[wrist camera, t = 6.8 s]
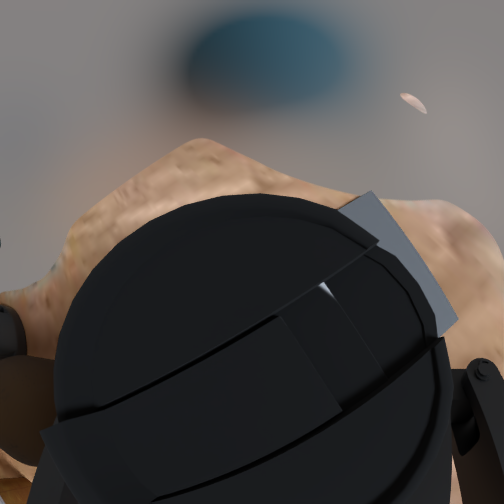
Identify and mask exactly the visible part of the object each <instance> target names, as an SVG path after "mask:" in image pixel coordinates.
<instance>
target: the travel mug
mask: <svg viewBox="0 0 504 504" xmlns="http://www.w3.org/2000/svg"><path fill="white" fill-rule="evenodd" d="M379 241H380V240H379V239H377V238H376V237H375V236H373V235H372V234H370V233H369V232H368V231H366V230H365V229H363V228H362V227H361V226H359V225H358V224H356V223H355V222H354V221H352V220H351V219H349V218H348V217H346V216H345V215H343V214H342V213H341V212H339V211H338V210H336V209H333V208H330V207H327V206H324V205H320V204H317V203H314V202H311V201H308V200H304V199H301V198H295V197H287V196H279V195H270V194H261V193H259V194H242V195H227V196H220V197H215V198H211V199H207V200H203V201H199V202H195V203H191V204H187V205H184V206H182V207H179V208H177V209H175V210H173V211H170V212H168V213H166V214H164V215H162V216H159V217H157V218H155V219H153V220H151V221H149V222H148V223H146V224H145V225H143V226H142V227H140V228H139V229H137V230H136V231H135V232H133V233H132V234H130V235H129V236H127V237H126V238H125V239H123V240H122V241H120V242H119V243H118V244H117V245H116V246H115V247H114V248H113V249H112V250H111V251H110V252H109V253H108V254H107V255H106V256H105V257H104V258H103V259H102V260H101V261H100V262H99V263H98V265H97V266H96V267H95V268H94V269H93V270H92V271H91V273H90V274H89V276H88V277H87V279H86V280H85V282H84V284H83V285H82V287H81V288H80V290H79V291H78V293H77V294H76V296H75V298H74V299H73V301H72V304H71V306H70V308H69V311H68V313H67V316H66V318H65V321H64V323H63V326H62V329H61V331H60V335H59V340H58V345H57V350H56V356H55V362H54V369H53V379H54V402H55V407H56V412H57V417H58V422H59V423H58V424H55V425H53V426H51V427H48V428H46V429H44V430H41V431H39V432H40V435H41V437H42V439H43V441H44V443H45V445H46V447H47V449H48V452H49V454H50V455H51V457H52V459H53V461H54V463H55V465H56V467H57V469H58V471H59V472H60V474H61V476H62V478H63V479H64V481H65V483H66V484H67V486H68V487H69V489H70V491H71V492H72V494H73V495H74V497H75V498H76V500H77V501H78V503H79V504H405V502H406V501H407V500H408V499H409V498H410V497H411V496H412V495H413V494H414V492H415V491H416V490H417V488H418V487H419V485H420V484H421V482H422V480H423V479H424V477H425V476H426V474H427V472H428V471H429V469H430V468H431V466H432V464H433V462H434V461H435V459H436V456H437V454H438V451H439V449H440V446H441V443H442V441H443V438H444V435H445V432H446V429H447V426H448V423H449V417H450V411H451V404H452V397H453V389H454V385H453V379H452V373H451V367H450V362H449V357H448V352H447V348H446V343H445V339H444V337H439V338H438V334H437V325H436V317H435V314H434V312H433V310H432V308H431V306H430V304H429V302H428V300H427V298H426V296H425V295H424V293H423V291H422V289H421V287H420V285H419V283H418V282H417V281H416V280H415V279H414V277H413V276H412V275H411V274H410V272H409V271H408V270H407V269H406V268H405V266H404V265H403V264H402V263H401V262H400V260H399V259H398V258H397V257H396V256H395V255H393V254H392V253H390V252H388V251H386V250H384V249H382V248H381V247H379V246H377V243H378V242H379Z"/></svg>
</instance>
